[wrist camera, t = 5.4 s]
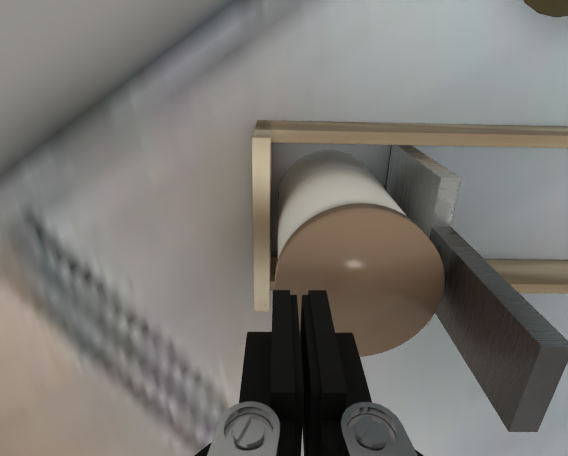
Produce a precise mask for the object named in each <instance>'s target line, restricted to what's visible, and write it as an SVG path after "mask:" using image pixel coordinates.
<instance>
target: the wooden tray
mask: <svg viewBox="0 0 568 456" xmlns="http://www.w3.org/2000/svg"><path fill="white" fill-rule="evenodd" d="M272 142H274V143H327V144H381V145H435V146H489V147H543V148H568V127H564V126H513V125H463V124H412V123H362V122H311V121H260V120H258V121H257V124H256V127H255V130H254V133H253V136H252V177H253V252H254V311H269V304H270V290H275V274H276V266H277V262H278V257H271V193H272ZM484 260H485V261H486V262H487V263H488V264H489V265H490V266H491V267H492V268H494V269H495V270H496V271H497V272H498V273H499V274H500V275H501V276H502V277H503V278H504V279H505V280H506V281H507V282H508V283H509V284H510V285H511V286H512V287H513V288H514V289H515V290H516V291H517V292H518V293H568V260H500V259H484Z"/></svg>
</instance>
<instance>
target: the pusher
mask: <svg viewBox="0 0 568 456" xmlns="http://www.w3.org/2000/svg"><path fill="white" fill-rule="evenodd" d="M460 182H461V178H460V177H459V176H457V175H456V174H454V173H453V172H451V171H450V170H448V169H446V168H445V167H443V166H442V165H440V164H439V163H437V162H436V161H434V160H433V159H431V158H430V157H428V156H427V155H425V154H423V153H422V152H420V151H419V150H417V149H416V148H414V147H413V146H411V145H392V148H391V155H390V163H389V170H388V177H387V184H386V191H387V193H388V194H389V195H390V196H391V197H392V199H393V200H394V201H395V202H396V204H397V205H398V206H399V207H400V209H401V210H402V211H403V212H404V213H405V215H406V216H407V217H408V218H410V219H411V220H412V221H414V222H415V223H416V224H417V225H418V226H419V227H420V229H421V230H422V231H423V232H424V233H425V234H426V236H427V237H428V238H429V239H430V241H431V242H432V243H433V245H434V246H435V247H436V249H437V251H438V253H439V255H440V258H441V260H442V263H443V268H444V289H443V294H442V297H441V301H440V303H439V305H438V308H437V310H436V311H435V313H436V315H437V316H438V318H439V320H440V321H441V323H442V324H443V326H444V328H445V329H446V331H447V333H448V334H449V336H450V337H451V339H452V341H453V342H454V344H455V345H456V347H457V349H458V350H459V352H460V354H461V355H462V357H463V358H464V360H465V362H466V363H467V365H468V367H469V368H470V370H471V371H472V373H473V375H474V376H475V378H476V379H477V381H478V383H479V384H480V386H481V388H482V389H483V391H484V392H485V394H486V396H487V397H488V399H489V400H490V402H491V404H492V405H493V407H494V409H495V410H496V412H497V413H498V415H499V417H500V418H501V420H502V421H503V423H504V425H505V426H506V428H507V430H508V431H509V432H538V429H539V427H540V425H541V422H542V420H543V418H544V415H545V413H546V411H547V408H548V406H549V404H550V401H551V399H552V397H553V394H554V392H555V390H556V387H557V385H558V383H559V380H560V378H561V376H562V373H563V371H564V369H565V366H566V364H567V362H568V341H567V340H566V339H565V338H564V337H563V336H562V335H561V334H560V333H559V332H558V331H557V330H556V329H555V328H554V327H553V326H552V325H551V324H550V323H549V322H548V321H547V320H546V319H545V318H544V317H543V316H542V315H541V314H540V313H539V312H538V311H537V310H536V309H535V308H534V307H533V306H532V305H530V304H529V303H528V302H527V301H526V300H525V299H524V298H523V297H522V296H521V295H520V294H519V293H518V292H517V291H516V290H515V289H514V288H513V287H512V286H511V285H510V284H509V283H508V282H507V281H506V280H505V279H504V278H503V277H502V276H501V275H500V274H499V273H498V272H497V271H496V270H495V269H494V268H492V267H491V266H490V265H489V264H488V263H487V262H486V261H485V260H484V259H483V258H482V257H481V256H480V255H479V254H478V253H477V252H476V251H475V250H474V249H473V248H472V247H471V246H470V245H469V244H468V243H467V242H466V241H465V240H464V239H463V238H462V237H461V236H460V235H459V234H458V233H457V232H456V231H454V230H453V229H452V228H451V223H452V218H453V214H454V209H455V205H456V200H457V196H458V191H459V187H460ZM429 322H430V320H429ZM429 322H428V323H427V324H426V325H429Z"/></svg>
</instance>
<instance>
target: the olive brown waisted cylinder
mask: <svg viewBox="0 0 568 456" xmlns="http://www.w3.org/2000/svg"><path fill="white" fill-rule="evenodd" d="M524 1H525V3H526V4H528V5H529V6H530V7H532V8H533V9H534V10H536V11H537V12H538V13H540V14H545V15H549V16H553V17H562V16H568V0H524Z"/></svg>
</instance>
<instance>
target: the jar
mask: <svg viewBox="0 0 568 456" xmlns="http://www.w3.org/2000/svg"><path fill="white" fill-rule="evenodd" d="M443 289H444V268H443V263H442V260H441V258H440V255H439V253H438V251H437V249H436V247H435V246H434V245H433V243H432V242H431V241H430V239H429V238H428V237H427V236H426V234H425V233H424V232H423V231H422V230H421V229H420V227H419V226H418V225H417V224H416V223H415V222H414V221H412V220H411V219H410V218H408V217H407V216H406V215H405V213H404V212H403V211H402V210H401V209H400V207H399V206H398V205H397V204H396V202H395V201H394V200H393V199H392V197H391V196H390V195H389V194H388V193H387V191H386V190H385V189H384V188H383V186H382V185H381V184H380V183H379V182H378V180H377V179H376V178H375V177H374V175H373V174H372V173H371V172H370V171H369V169H368V168H367V167H366V166H365V165H364V164H363V163H362V162H361V161H360V160H358V159H357V158H356V157H354V156H352V155H350V154H347V153H345V152H340V151H333V150H327V151H319V152H315V153H312V154H309V155H307V156H305V157H303V158H302V159H300V160H299V161H297V162H296V163H295V164H294V165H293V166H292V167H291V168H290V169H289V170H288V172H287V173H286V174H285V176H284V178H283V180H282V182H281V185H280V188H279V193H278V262H277V266H276V274H275V290H290V295H297V303H298V316H299V329H300V324H301V303H302V295H308V291H309V290H326V291H327V296H328V301H329V306H330V310H331V315H332V320H333V325H334V330H335V333H353V335H354V338H355V342H356V345H357V349H358V353H359V356H360V357H362V356H369V355H374V354H378V353H382V352H385V351H387V350H390V349H393V348H395V347H397V346H399V345H401V344H403V343H404V342H406V341H408V340H409V339H410V338H412V337H413V336H414V335H416V334H417V333H418V332H419V331H420V330H421V329H422V328H423V327H424V326H425V325H426V324H427V323H428V322H429V320H430V319H431V318H432V316H433V315H434V313H435V311H436V310H437V308H438V305H439V303H440V301H441V297H442V294H443Z"/></svg>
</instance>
